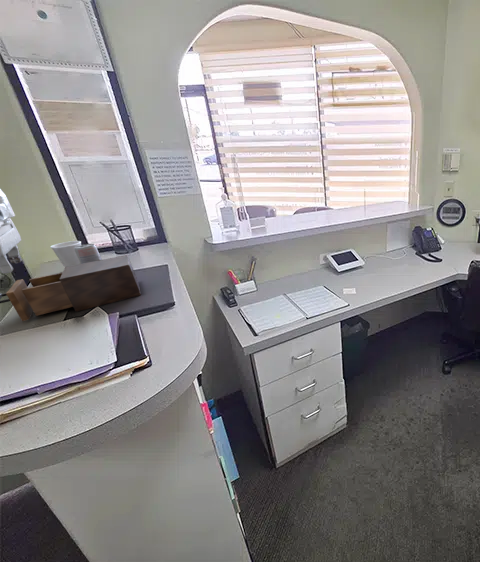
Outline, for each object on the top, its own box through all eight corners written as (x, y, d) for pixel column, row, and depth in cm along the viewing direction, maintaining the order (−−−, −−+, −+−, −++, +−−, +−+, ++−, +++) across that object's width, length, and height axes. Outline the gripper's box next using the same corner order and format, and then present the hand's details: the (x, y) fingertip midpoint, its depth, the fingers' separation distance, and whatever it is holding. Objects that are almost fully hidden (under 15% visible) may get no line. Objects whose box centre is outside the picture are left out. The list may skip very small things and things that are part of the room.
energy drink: (105, 275, 108) (91, 242, 103) (112, 278, 105) (97, 244, 100) (86, 281, 104) (70, 247, 99) (93, 284, 101) (77, 249, 96)
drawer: (-4, 328, 75) (-23, 299, 72) (7, 311, 83) (-8, 285, 80) (91, 303, 85) (79, 277, 82) (93, 291, 93) (82, 267, 90)
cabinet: (75, 311, 83) (59, 279, 79) (79, 296, 92) (65, 266, 88) (141, 295, 91) (129, 264, 87) (138, 282, 100) (127, 254, 96)
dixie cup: (65, 269, 117) (53, 243, 113) (93, 264, 121) (82, 239, 117) (60, 275, 111) (47, 248, 107) (90, 269, 115) (78, 244, 111)
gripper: (-22, 208, 78) (5, 260, 84) (-53, 219, 63) (-19, 281, 69) (14, 205, 82) (37, 255, 87) (-8, 215, 67) (22, 274, 72)
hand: (12, 267), depth 78 cm, fingers open, 8 cm apart
